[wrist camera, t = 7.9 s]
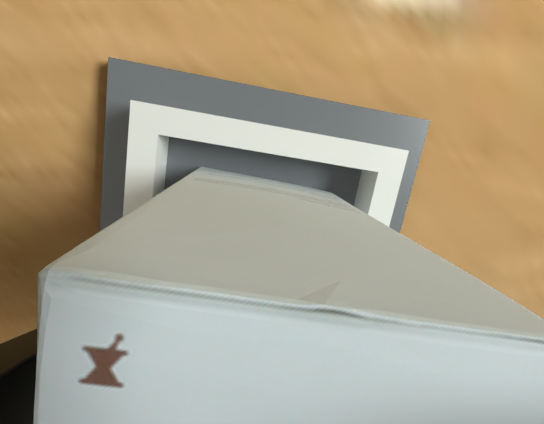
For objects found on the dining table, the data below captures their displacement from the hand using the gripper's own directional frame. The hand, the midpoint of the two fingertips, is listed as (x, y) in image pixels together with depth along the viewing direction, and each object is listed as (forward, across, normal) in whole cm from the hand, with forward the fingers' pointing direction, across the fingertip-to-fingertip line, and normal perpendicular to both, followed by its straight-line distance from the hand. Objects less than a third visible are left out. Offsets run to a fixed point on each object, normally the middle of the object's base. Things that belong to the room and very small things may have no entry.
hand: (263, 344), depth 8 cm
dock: (+9, 0, 0) cm, 9 cm away
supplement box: (+9, 0, 0) cm, 9 cm away
